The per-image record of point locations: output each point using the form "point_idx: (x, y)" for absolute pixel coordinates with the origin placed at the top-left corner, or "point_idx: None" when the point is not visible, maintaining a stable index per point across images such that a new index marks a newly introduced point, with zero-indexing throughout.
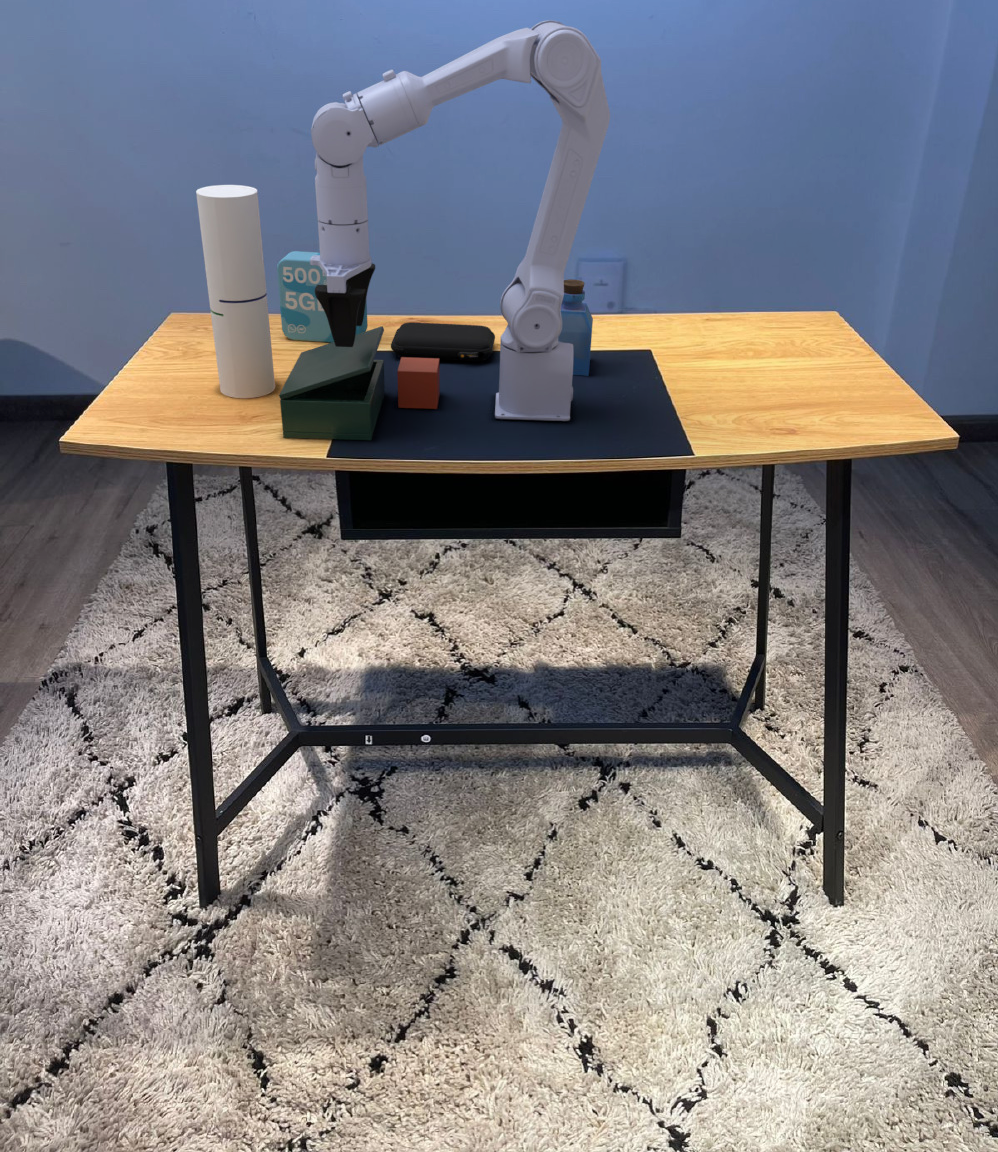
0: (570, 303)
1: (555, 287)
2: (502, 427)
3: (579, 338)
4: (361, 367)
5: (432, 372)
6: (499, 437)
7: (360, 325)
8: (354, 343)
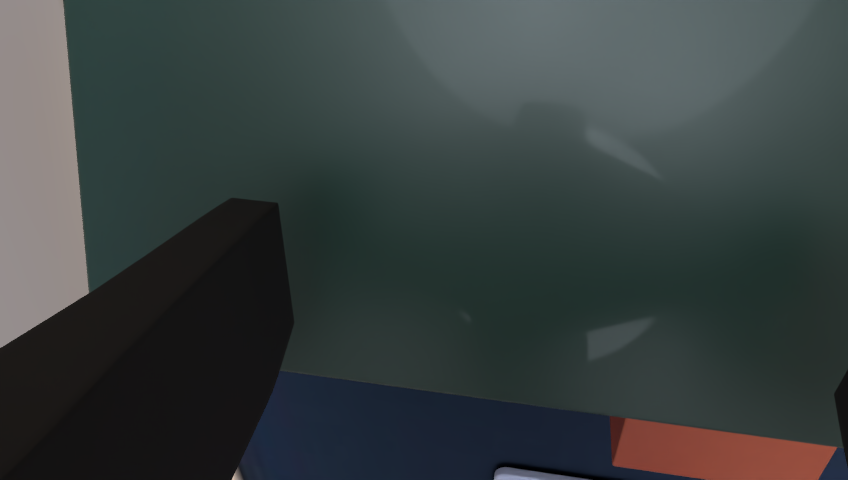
0: None
1: None
2: (444, 466)
3: None
4: None
5: (617, 451)
6: (370, 450)
7: (834, 393)
8: (786, 231)
